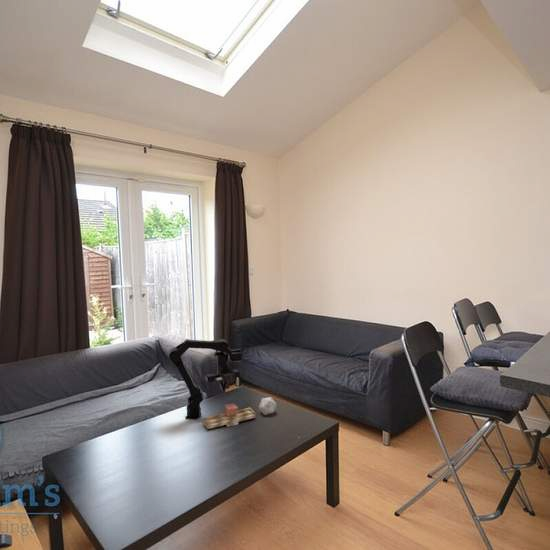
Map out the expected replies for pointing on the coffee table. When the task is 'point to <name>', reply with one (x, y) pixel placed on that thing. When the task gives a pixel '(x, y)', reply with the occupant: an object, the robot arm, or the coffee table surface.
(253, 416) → the beam
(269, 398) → the die
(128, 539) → the coffee table surface
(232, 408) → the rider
